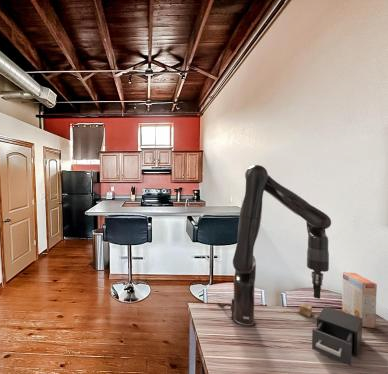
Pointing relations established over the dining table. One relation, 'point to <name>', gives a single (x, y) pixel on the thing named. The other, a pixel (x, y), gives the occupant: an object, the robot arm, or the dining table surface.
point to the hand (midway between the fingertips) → (316, 297)
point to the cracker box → (359, 298)
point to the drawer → (333, 342)
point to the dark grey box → (343, 324)
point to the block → (306, 310)
